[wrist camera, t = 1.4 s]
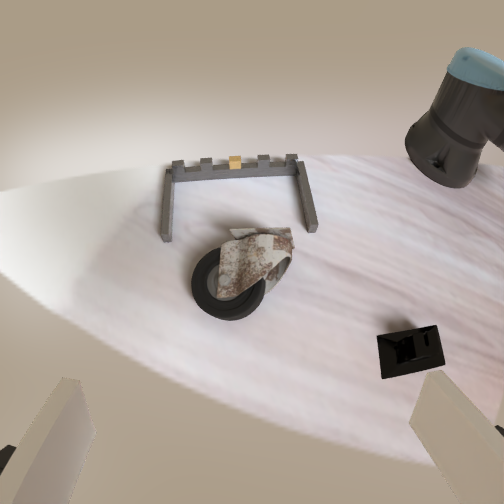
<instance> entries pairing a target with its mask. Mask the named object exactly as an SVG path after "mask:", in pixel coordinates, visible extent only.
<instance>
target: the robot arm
mask: <svg viewBox="0 0 504 504" xmlns="http://www.w3.org/2000/svg"><path fill="white" fill-rule="evenodd" d="M488 140H490V141H491V142H492V143H493V144H495V145H496V146H497V147H499V148H500V149H501V150H502V151H503V152H504V61H502V60H500V59H498V58H497V57H495V56H493V55H491V54H489V53H487V52H484V51H482V50H479V49H475V48H469V47H465V48H461V49H459V50H458V51H457V52H456V53H455V56H454V57H453V59H452V61H451V63H450V64H449V65H448V67H447V73H446V76H445V77H444V80H443V82H442V84H441V86H440V88H439V90H438V93H437V95H436V97H435V99H434V101H433V103H432V105H431V107H430V109H429V111H427V112H426V113H425V114H424V115H423V116H422V117H421V118H420V119H419V120H418V122H416V123H414V124H413V125H412V126H411V127H410V129H409V131H408V133H407V135H406V138H405V146H406V150H407V153H408V155H409V157H410V158H411V160H412V161H413V162H414V164H415V165H416V166H417V167H418V168H419V169H420V170H421V171H422V172H423V173H424V174H425V175H427V176H428V177H429V178H431V179H432V180H434V181H436V182H437V183H439V184H441V185H444V186H447V187H450V188H463V187H465V186H467V185H468V184H469V183H470V182H471V180H472V179H473V178H474V176H475V174H476V172H477V165H478V162H479V159H480V155H481V152H482V149H483V147H484V146H485V144H486V143H487V141H488ZM409 424H410V426H411V427H412V429H413V430H414V432H415V433H416V435H417V436H418V438H419V439H420V441H421V442H422V444H423V446H424V447H425V449H426V450H427V452H428V453H429V455H430V456H431V458H432V459H433V461H434V463H435V464H436V466H437V467H438V469H439V470H440V472H441V473H442V475H443V477H444V478H445V480H446V481H447V483H448V485H449V486H450V488H451V490H452V491H453V493H454V494H455V496H456V498H457V499H458V501H459V502H460V504H504V429H503V428H502V427H500V426H498V425H497V426H493V425H492V424H491V422H490V421H489V420H488V419H487V418H486V417H485V416H484V415H483V414H482V413H481V411H480V410H479V409H478V408H477V407H476V406H475V405H474V404H473V403H472V402H471V401H470V400H469V398H468V397H467V396H466V395H465V394H464V393H463V392H462V391H461V390H460V389H459V388H458V387H457V386H456V385H455V384H454V383H453V381H452V380H451V379H450V378H449V377H448V376H447V375H446V374H445V373H444V372H443V371H442V370H439V371H434V372H429V373H427V375H426V378H425V381H424V384H423V387H422V390H421V392H420V395H419V398H418V401H417V403H416V406H415V409H414V411H413V414H412V416H411V419H410V421H409ZM96 433H97V432H96V429H95V426H94V424H93V421H92V418H91V415H90V412H89V409H88V406H87V403H86V399H85V397H84V393H83V390H82V386H81V383H80V381H79V380H74V379H67V378H62V379H61V381H60V382H59V383H58V385H57V386H56V388H55V389H54V391H53V392H52V394H51V395H50V397H49V398H48V400H47V401H46V403H45V404H44V406H43V407H42V409H41V410H40V412H39V413H38V415H37V416H36V418H35V419H34V421H33V422H32V424H31V426H30V427H29V429H28V431H27V432H26V434H25V435H24V437H23V438H22V440H21V442H20V443H19V445H18V446H17V447H14V446H11V445H7V446H6V447H5V448H3V449H2V450H1V451H0V504H69V501H70V498H71V496H72V493H73V490H74V488H75V485H76V482H77V479H78V477H79V475H80V472H81V470H82V467H83V465H84V462H85V460H86V457H87V455H88V452H89V450H90V448H91V445H92V443H93V440H94V438H95V436H96Z"/></svg>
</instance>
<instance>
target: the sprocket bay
mask: <svg viewBox="0 0 504 504" xmlns="http://www.w3.org/2000/svg"><path fill="white" fill-rule="evenodd" d="M200 164H201V166H197V167H185V165H184V160H178V161H172V169H166V175H165V186H164V198H163V210H162V224H161V236H162V238H163V241H164V242H172V219H173V200H174V185H175V182H187V181H199V180H212V179H227V178H244V177H265V176H292V175H296V176H297V181H298V186H299V190H300V195H301V200H302V204H303V209H304V214H305V219H306V224H307V229H308V233H315V232H316V230H317V227H318V220H317V216H316V211H315V207H314V203H313V198H312V194H311V190H310V186H309V182H308V177H307V173H306V169H305V165H304V161H298V156H297V154H286V157H285V162H270V157H269V155H258V159H257V163H241V156H230V157H229V164H224V165H213V164H212V158H201V159H200Z"/></svg>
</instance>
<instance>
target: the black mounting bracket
mask: <svg viewBox="0 0 504 504" xmlns="http://www.w3.org/2000/svg"><path fill="white" fill-rule="evenodd" d="M377 342H378V350H379V359H380V368H381V378H382V379H387V378H392V377H396V376H401V375H406V374H410V373H415V372H419V371H423V370H427V369H431V368H435V367H439V366H443V365H445V359H444V354H443V350H442V345H441V341H440V336H439V332H438V328H437V325H433V326H428V327H423V328H417V329H412V330H407V331H401V332H395V333H389V334H383V335H378V336H377Z"/></svg>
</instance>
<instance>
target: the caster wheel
mask: <svg viewBox="0 0 504 504" xmlns="http://www.w3.org/2000/svg"><path fill="white" fill-rule="evenodd" d="M229 230H230V232H231V233H232V235H233V236H234V238H235V239H236V240H231V241H227V242H225V243H223V244H222V245H221V247H220V248H217V249H215V250H212V251H211V252H209V253H208V254H206V255H205V256H204V257H203V258H202V259H201V260H200V261H199V263H198V264H197V266H196V268H195V270H194V272H193V276H192V281H191V286H192V293H193V297H194V299H195V301H196V303H197V304H198V306H199V307H200V308H201V309H202V310H203V311H205V312H206V313H208V314H210V315H211V316H214V317H216V318H219V319H222V320H228V321H233V320H239V319H242V318H244V317H246V316H248V315H249V314H251V313H252V312H253V311H254V310H255V309H256V308H257V307H258V306H259V305H260V303H261V301H262V299H263V296H264V295H265V294H267V293H268V292H270V291H271V290H272V289H273V288H274V287H275V286H276V285H277V284H278V283H279V281H280V280H281V279H282V277H283V275H284V274H285V272H286V270H287V268H288V267H289V265H290V263H291V260H292V249H294V248H295V246H294V242H293V238H292V234H291V230H290V228H241V229H229Z"/></svg>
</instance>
